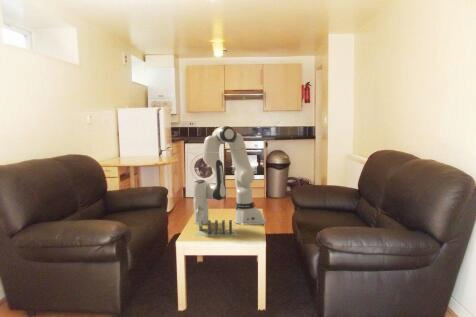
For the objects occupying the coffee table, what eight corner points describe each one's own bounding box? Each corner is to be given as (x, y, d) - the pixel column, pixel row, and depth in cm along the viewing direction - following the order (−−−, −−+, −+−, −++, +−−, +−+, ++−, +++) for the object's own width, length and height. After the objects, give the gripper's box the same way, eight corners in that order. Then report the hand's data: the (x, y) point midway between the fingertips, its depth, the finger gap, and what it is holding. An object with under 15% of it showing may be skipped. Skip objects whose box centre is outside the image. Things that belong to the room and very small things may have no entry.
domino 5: (232, 232, 221) (231, 220, 220) (231, 234, 217) (231, 222, 216) (229, 232, 221) (229, 220, 220) (229, 234, 217) (229, 222, 216)
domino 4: (225, 232, 221) (224, 220, 220) (224, 234, 217) (224, 222, 216) (222, 232, 221) (222, 220, 220) (222, 234, 217) (221, 222, 216)
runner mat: (237, 232, 222) (236, 231, 222) (236, 235, 215) (236, 235, 215) (197, 232, 223) (197, 231, 223) (195, 236, 216) (195, 235, 216)
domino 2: (211, 232, 221) (210, 220, 220) (210, 234, 217) (210, 222, 216) (208, 232, 221) (208, 220, 221) (207, 234, 217) (207, 222, 216)
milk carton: (194, 223, 243) (193, 197, 241) (202, 221, 248) (201, 195, 246) (201, 225, 238) (200, 198, 236) (208, 223, 243) (208, 196, 241)
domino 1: (202, 229, 229) (202, 217, 229) (201, 231, 225) (201, 219, 224) (200, 229, 229) (199, 217, 229) (199, 231, 225) (199, 219, 224)
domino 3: (218, 232, 221) (217, 220, 220) (217, 234, 217) (217, 222, 216) (215, 232, 221) (215, 220, 220) (215, 234, 217) (214, 222, 216)
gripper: (203, 208, 215) (203, 230, 217) (206, 201, 235) (207, 220, 237) (193, 208, 215) (193, 230, 217) (197, 201, 236) (198, 221, 237)
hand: (200, 225), depth 227 cm, fingers closed on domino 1, 4 cm apart
